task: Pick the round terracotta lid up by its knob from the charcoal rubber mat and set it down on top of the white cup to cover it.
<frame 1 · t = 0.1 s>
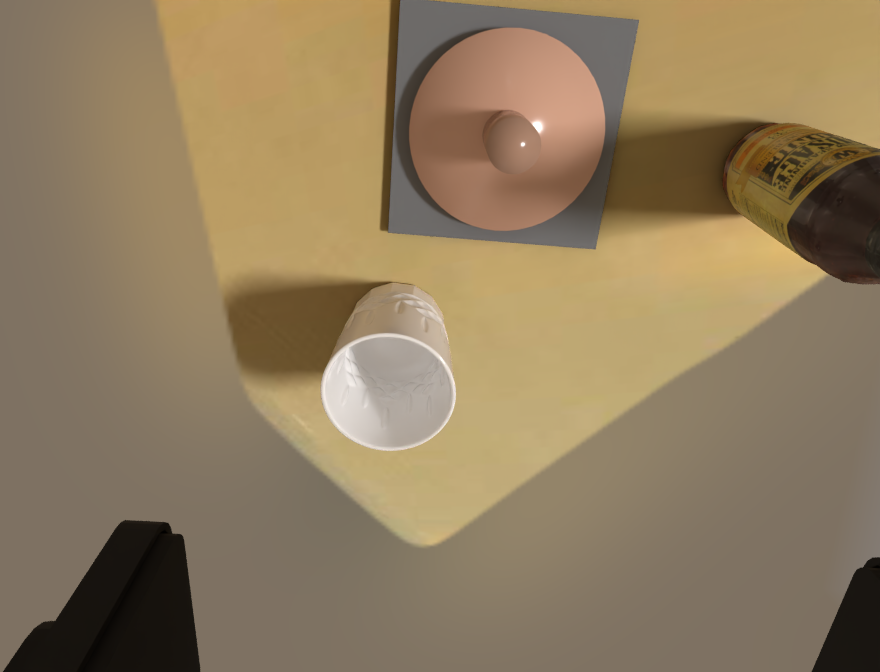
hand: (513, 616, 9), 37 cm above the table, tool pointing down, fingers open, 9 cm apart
white cup: (398, 324, 48), on the table
lid: (505, 133, 41), point 1 cm above the table, touching mat
sauce bottle: (760, 169, 43), on the table
mat: (504, 131, 42), on the table
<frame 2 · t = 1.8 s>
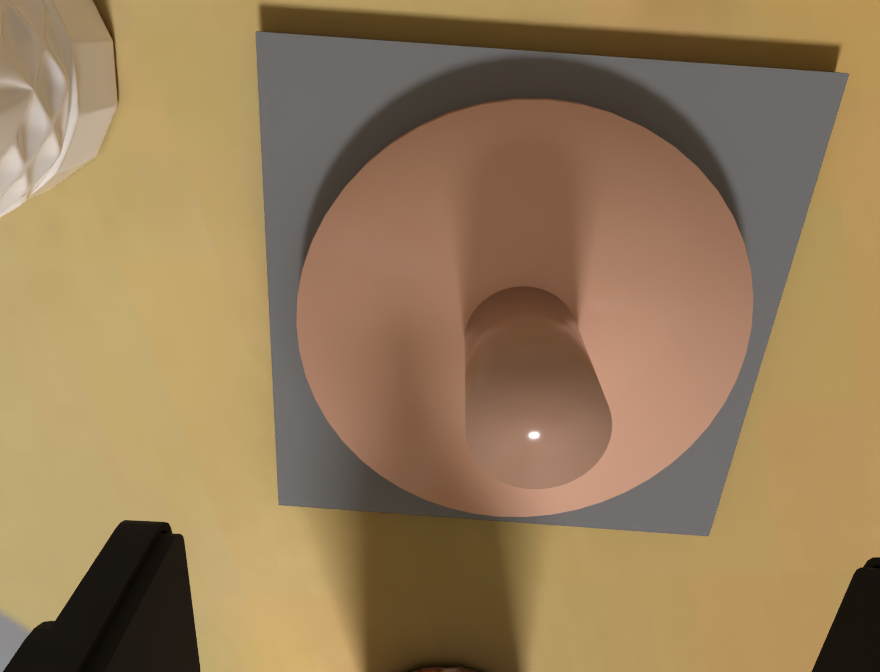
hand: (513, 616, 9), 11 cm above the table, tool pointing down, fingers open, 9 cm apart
lid: (518, 323, 18), point 1 cm above the table, touching mat
mat: (516, 315, 19), on the table
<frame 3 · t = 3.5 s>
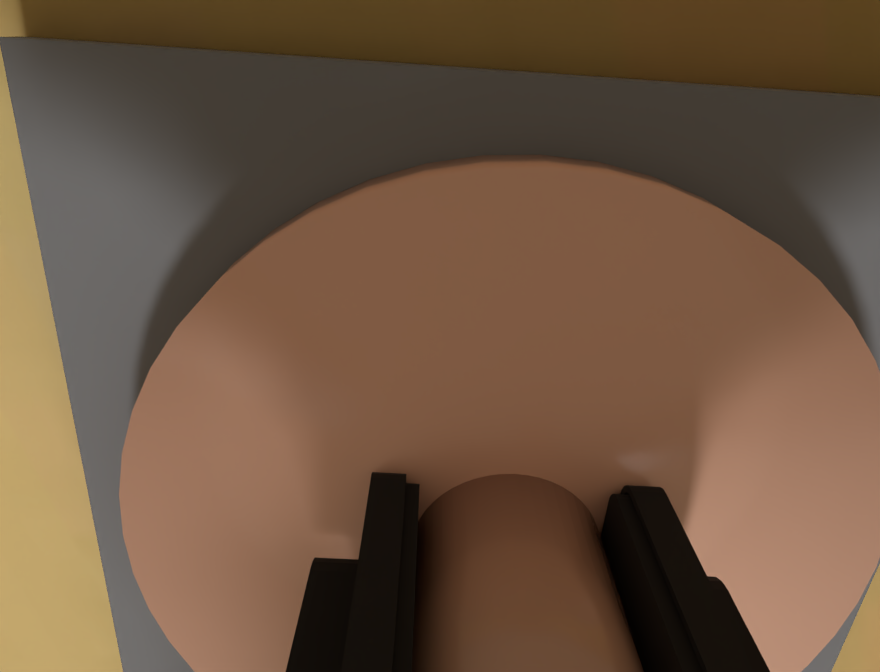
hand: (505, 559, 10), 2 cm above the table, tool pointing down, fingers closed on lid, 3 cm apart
lid: (499, 510, 11), point 1 cm above the table, touching gripper, mat
mat: (495, 488, 12), on the table
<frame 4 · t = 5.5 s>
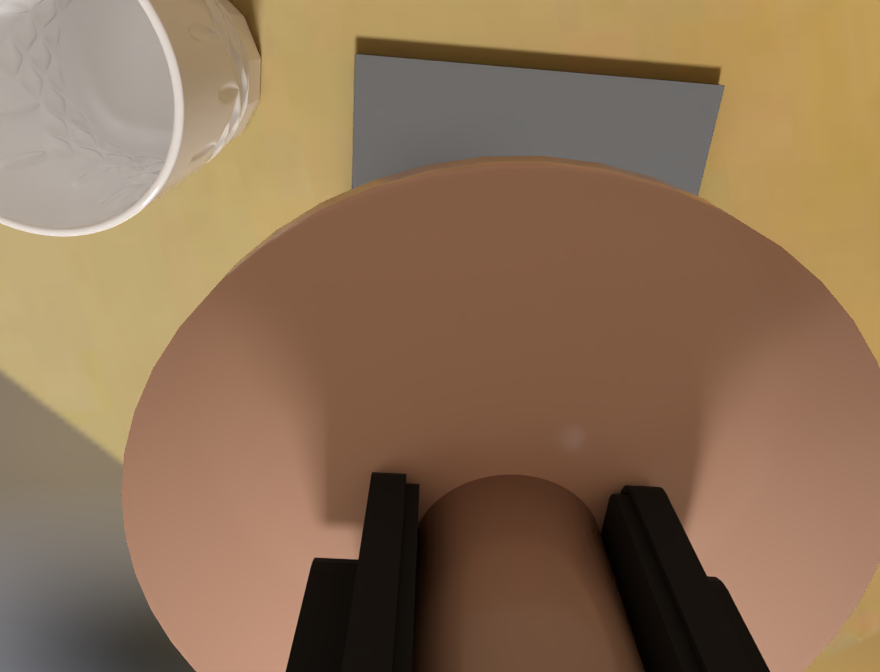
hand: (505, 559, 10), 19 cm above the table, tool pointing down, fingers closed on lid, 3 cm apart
white cup: (178, 65, 26), on the table
lid: (501, 510, 11), point 18 cm above the table, touching gripper
mat: (515, 244, 28), on the table
when the fingers open (13 cm above the table, at t = 7.7 s): lid drops 2 cm, resting on white cup.
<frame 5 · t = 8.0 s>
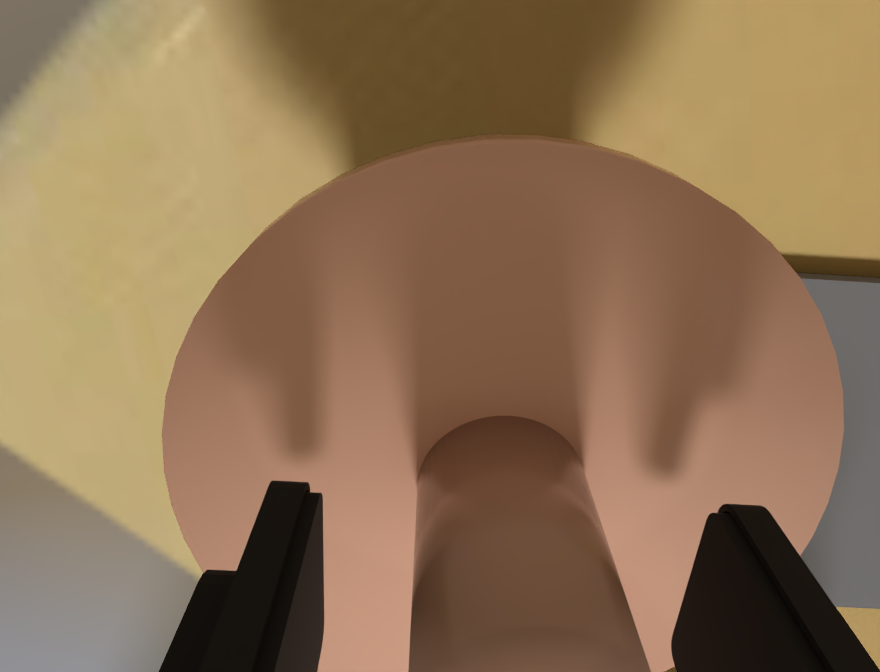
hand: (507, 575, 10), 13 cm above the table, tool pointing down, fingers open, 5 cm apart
lid: (496, 454, 13), point 10 cm above the table, touching white cup
mat: (828, 454, 25), on the table
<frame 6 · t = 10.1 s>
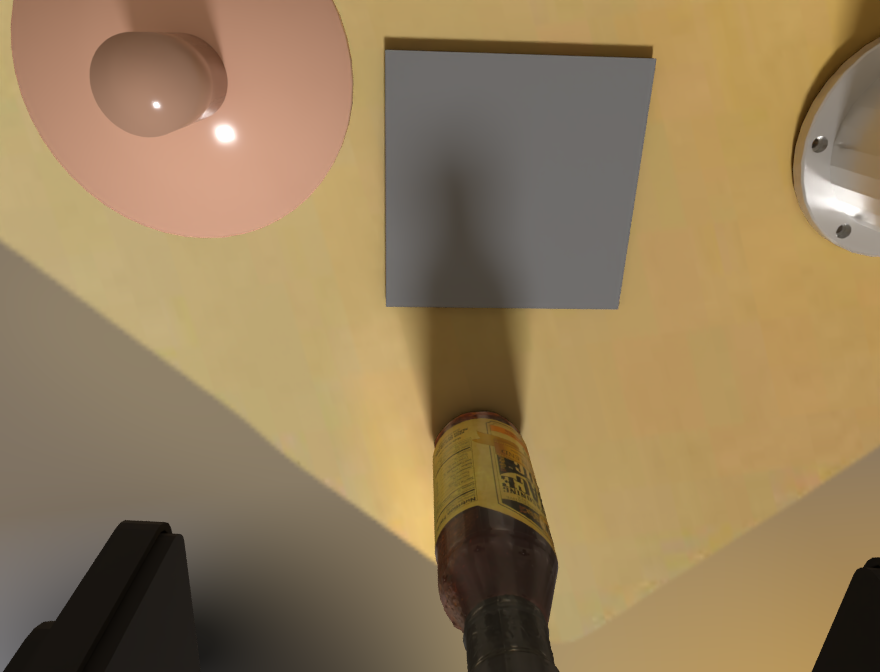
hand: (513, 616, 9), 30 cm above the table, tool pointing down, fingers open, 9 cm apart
lid: (193, 76, 25), point 10 cm above the table, touching white cup
sauce bottle: (476, 441, 44), on the table
mat: (510, 188, 37), on the table
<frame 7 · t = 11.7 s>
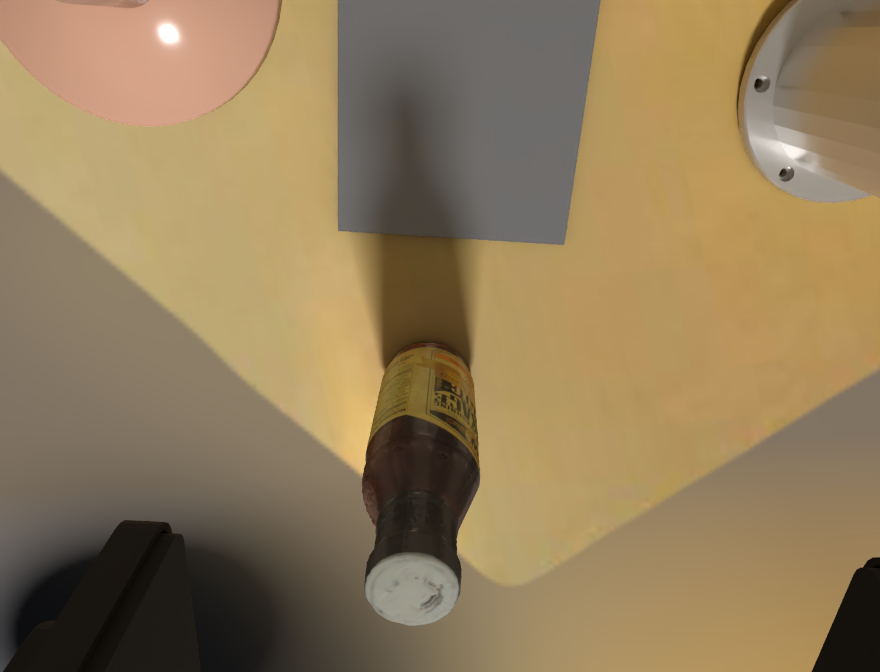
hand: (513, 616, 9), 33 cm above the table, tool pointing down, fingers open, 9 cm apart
sauce bottle: (426, 373, 46), on the table
mat: (460, 118, 38), on the table
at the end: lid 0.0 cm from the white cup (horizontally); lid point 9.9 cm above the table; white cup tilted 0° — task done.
